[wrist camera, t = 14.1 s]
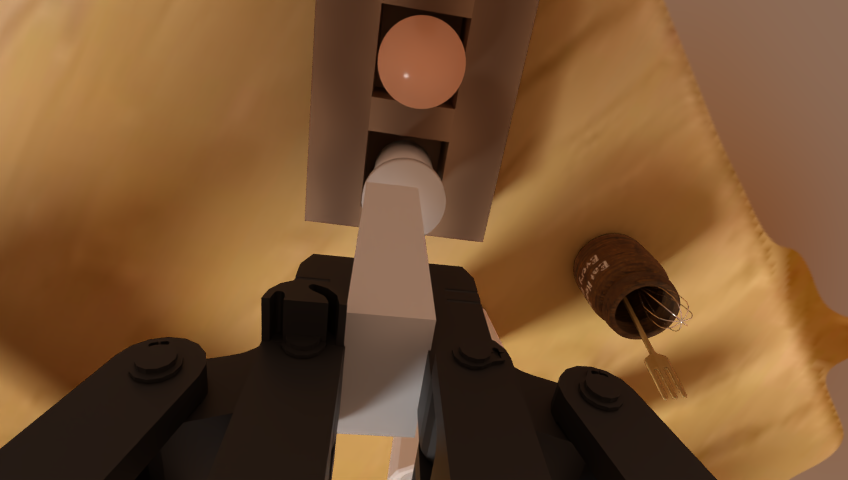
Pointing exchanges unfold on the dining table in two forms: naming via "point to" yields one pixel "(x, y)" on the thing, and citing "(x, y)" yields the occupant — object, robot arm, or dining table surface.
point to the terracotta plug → (421, 62)
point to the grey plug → (411, 177)
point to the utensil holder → (631, 296)
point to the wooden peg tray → (392, 121)
